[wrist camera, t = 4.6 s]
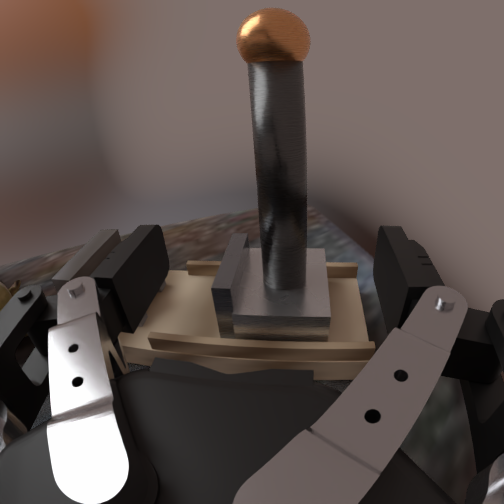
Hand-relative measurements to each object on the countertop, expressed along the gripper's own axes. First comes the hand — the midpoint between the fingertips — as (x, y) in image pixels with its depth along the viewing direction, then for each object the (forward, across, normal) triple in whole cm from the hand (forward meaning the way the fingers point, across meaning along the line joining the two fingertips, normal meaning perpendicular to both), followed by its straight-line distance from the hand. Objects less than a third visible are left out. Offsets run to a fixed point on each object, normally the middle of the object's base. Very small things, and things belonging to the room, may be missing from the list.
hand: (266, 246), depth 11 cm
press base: (+8, +6, +12) cm, 16 cm away
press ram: (+8, +1, +10) cm, 13 cm away
